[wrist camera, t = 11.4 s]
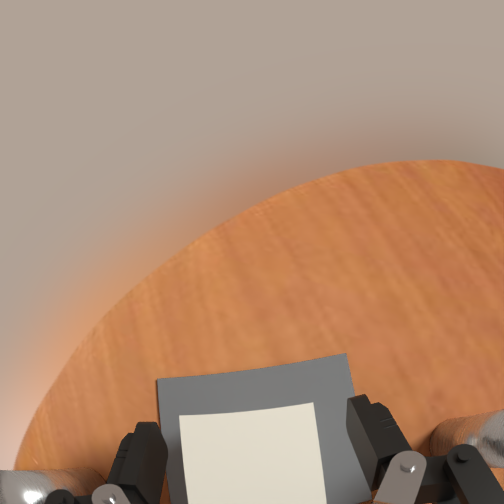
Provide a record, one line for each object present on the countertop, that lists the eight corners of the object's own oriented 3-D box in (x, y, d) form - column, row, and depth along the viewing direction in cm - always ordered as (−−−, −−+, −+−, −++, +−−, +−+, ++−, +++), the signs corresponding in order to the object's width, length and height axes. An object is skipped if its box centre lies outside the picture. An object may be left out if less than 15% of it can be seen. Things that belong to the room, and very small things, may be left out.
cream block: (293, 413, 17) (313, 402, 9) (301, 474, 15) (328, 521, 6) (226, 420, 17) (179, 415, 9) (232, 481, 15) (192, 532, 6)
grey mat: (345, 353, 19) (345, 353, 19) (371, 498, 14) (372, 499, 14) (158, 379, 19) (157, 378, 19) (175, 523, 14) (174, 524, 13)
